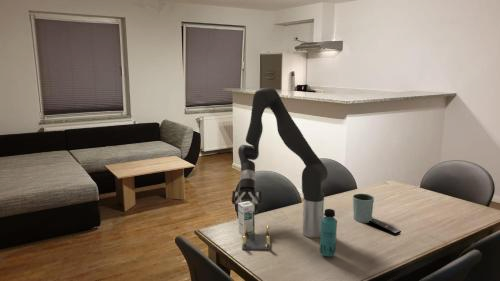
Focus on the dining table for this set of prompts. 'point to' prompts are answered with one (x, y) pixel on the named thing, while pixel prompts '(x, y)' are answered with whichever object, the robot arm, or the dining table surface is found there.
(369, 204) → the teal cup
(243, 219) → the syrup box
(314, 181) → the robot arm
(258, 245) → the chassis plate
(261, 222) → the dining table surface
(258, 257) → the dining table surface
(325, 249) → the beverage bottle
